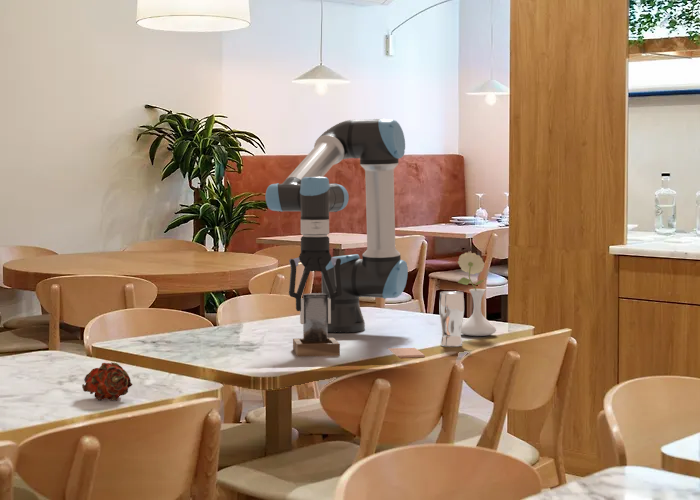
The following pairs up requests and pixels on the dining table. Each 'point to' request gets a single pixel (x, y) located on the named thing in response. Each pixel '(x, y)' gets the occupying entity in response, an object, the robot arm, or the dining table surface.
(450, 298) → the beer glass
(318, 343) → the socket block
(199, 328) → the dining table surface
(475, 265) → the flower in vase
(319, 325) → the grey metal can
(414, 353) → the pad
